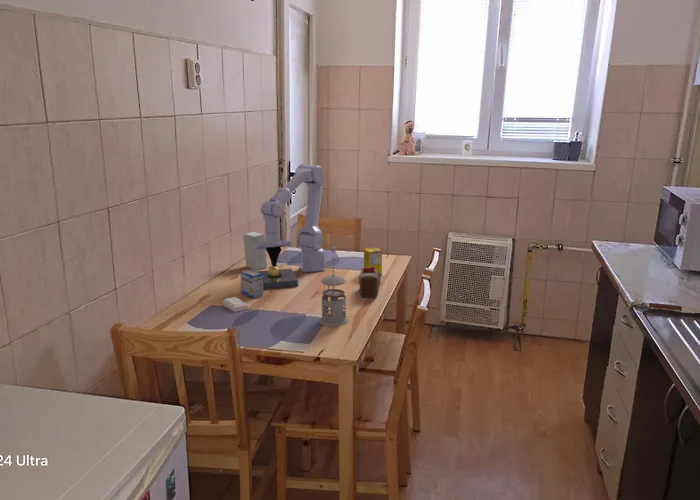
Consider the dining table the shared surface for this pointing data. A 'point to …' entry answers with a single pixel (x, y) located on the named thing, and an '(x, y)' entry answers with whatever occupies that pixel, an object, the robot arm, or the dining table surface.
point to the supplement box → (373, 258)
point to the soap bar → (235, 304)
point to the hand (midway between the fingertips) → (274, 265)
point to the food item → (369, 282)
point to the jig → (278, 279)
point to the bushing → (273, 271)
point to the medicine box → (252, 283)
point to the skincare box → (251, 255)
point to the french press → (333, 301)
